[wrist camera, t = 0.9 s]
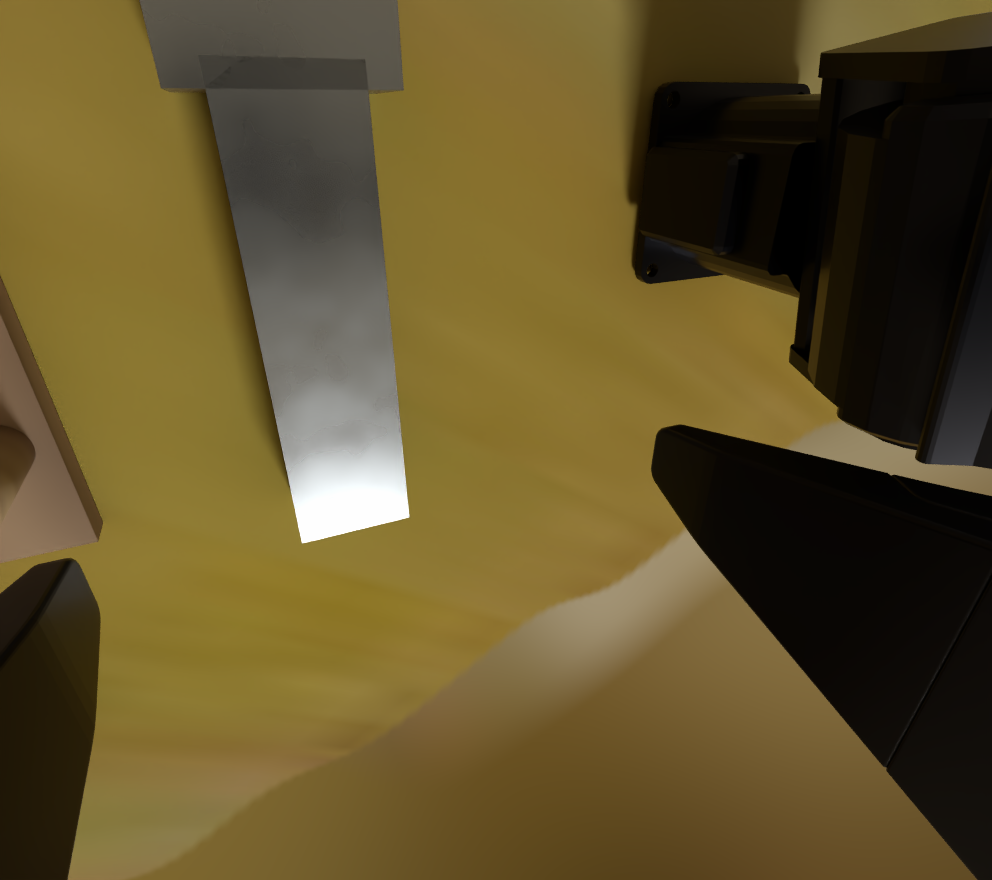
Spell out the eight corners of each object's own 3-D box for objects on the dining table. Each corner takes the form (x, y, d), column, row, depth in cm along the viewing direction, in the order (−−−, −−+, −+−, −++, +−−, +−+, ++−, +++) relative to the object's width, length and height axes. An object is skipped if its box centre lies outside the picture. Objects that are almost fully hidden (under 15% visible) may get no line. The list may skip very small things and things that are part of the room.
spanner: (362, -54, 15) (390, -86, 12) (409, 468, 22) (433, 511, 20) (130, -75, 13) (110, -117, 11) (267, 499, 21) (274, 550, 18)
